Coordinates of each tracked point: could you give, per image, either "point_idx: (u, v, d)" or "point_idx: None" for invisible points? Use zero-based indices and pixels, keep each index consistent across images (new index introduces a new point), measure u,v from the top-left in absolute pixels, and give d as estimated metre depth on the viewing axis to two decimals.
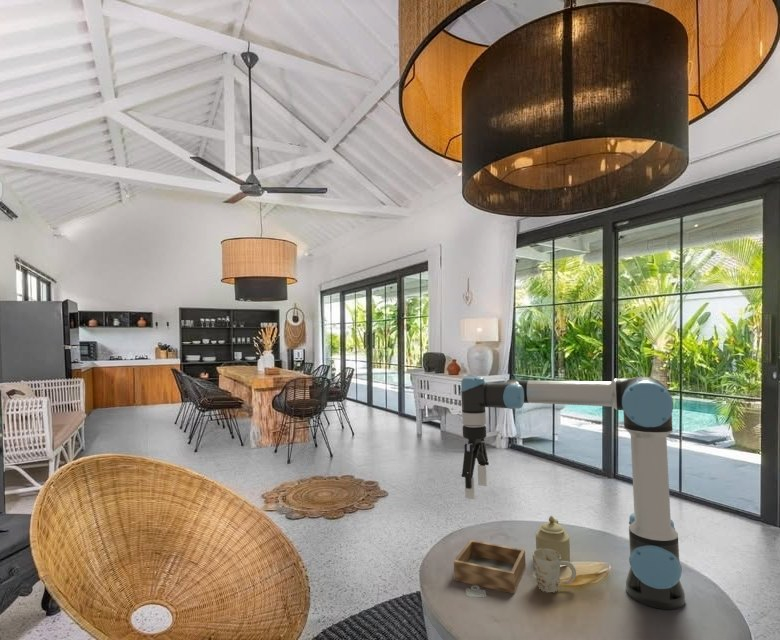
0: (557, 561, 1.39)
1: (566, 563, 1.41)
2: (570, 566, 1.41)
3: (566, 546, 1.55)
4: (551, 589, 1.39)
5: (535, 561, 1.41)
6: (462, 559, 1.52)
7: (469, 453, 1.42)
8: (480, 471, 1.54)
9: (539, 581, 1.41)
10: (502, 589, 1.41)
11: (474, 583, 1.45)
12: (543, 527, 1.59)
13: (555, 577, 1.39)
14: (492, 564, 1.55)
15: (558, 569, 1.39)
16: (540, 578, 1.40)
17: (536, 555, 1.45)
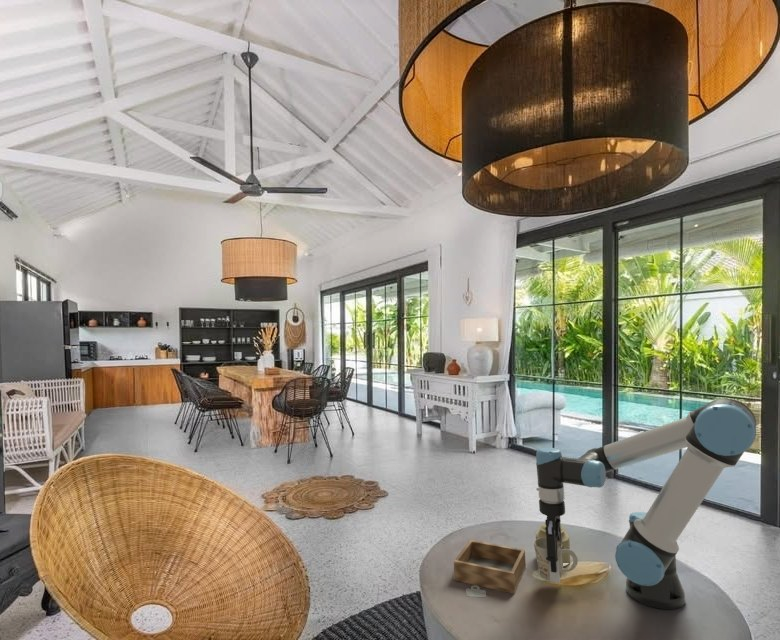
0: (559, 549, 1.39)
1: (567, 551, 1.41)
2: (572, 554, 1.41)
3: (566, 546, 1.55)
4: None
5: (537, 550, 1.41)
6: (462, 559, 1.52)
7: (552, 537, 1.36)
8: None
9: (541, 570, 1.41)
10: (502, 589, 1.41)
11: (474, 583, 1.45)
12: (543, 527, 1.59)
13: None
14: (492, 564, 1.55)
15: (560, 557, 1.40)
16: (542, 567, 1.40)
17: (537, 544, 1.46)
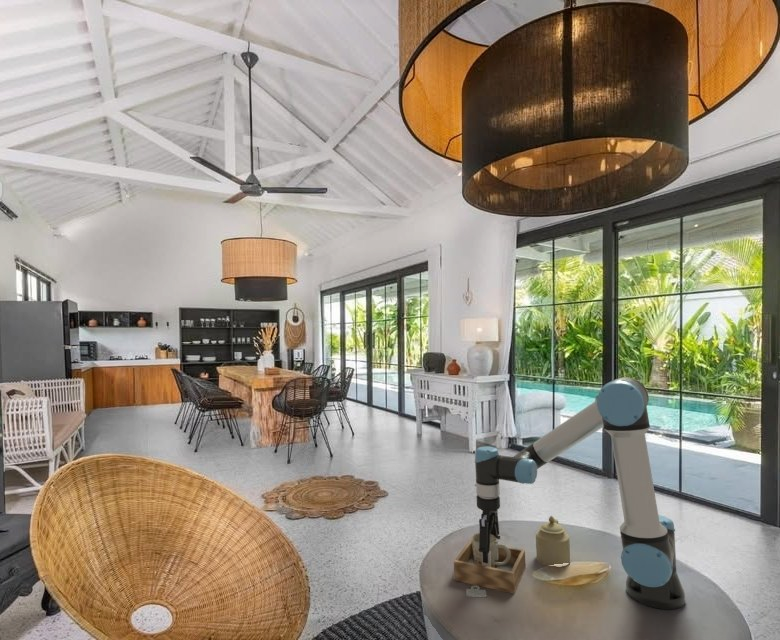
0: (492, 544, 1.49)
1: (501, 546, 1.51)
2: (505, 548, 1.51)
3: (566, 546, 1.55)
4: None
5: (473, 544, 1.51)
6: (462, 559, 1.52)
7: (484, 529, 1.46)
8: None
9: (476, 563, 1.51)
10: (502, 589, 1.41)
11: (474, 583, 1.45)
12: (543, 527, 1.59)
13: None
14: None
15: (494, 551, 1.49)
16: (477, 560, 1.50)
17: (475, 539, 1.55)
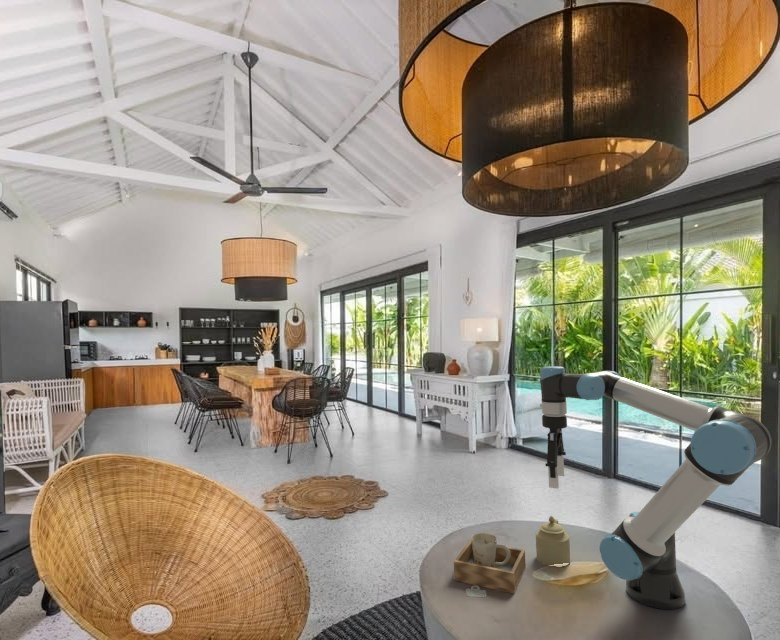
0: (492, 544, 1.49)
1: (501, 546, 1.51)
2: (505, 548, 1.51)
3: (566, 546, 1.55)
4: None
5: (473, 544, 1.51)
6: (462, 559, 1.52)
7: (553, 442, 1.42)
8: (557, 461, 1.54)
9: (476, 563, 1.51)
10: (502, 589, 1.41)
11: (474, 583, 1.45)
12: (543, 527, 1.59)
13: (490, 559, 1.49)
14: None
15: (493, 551, 1.49)
16: (477, 560, 1.50)
17: (475, 539, 1.55)
